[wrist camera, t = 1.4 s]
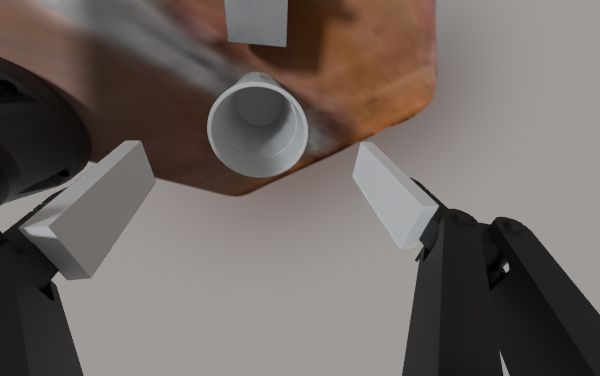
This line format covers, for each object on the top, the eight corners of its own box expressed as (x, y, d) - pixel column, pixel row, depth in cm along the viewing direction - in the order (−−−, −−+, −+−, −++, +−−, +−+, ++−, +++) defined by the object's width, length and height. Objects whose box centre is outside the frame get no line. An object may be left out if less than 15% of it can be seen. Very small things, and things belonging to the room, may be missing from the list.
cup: (297, 120, 29) (316, 163, 20) (241, 137, 29) (234, 188, 20) (279, 54, 24) (294, 67, 15) (213, 75, 25) (185, 101, 15)
